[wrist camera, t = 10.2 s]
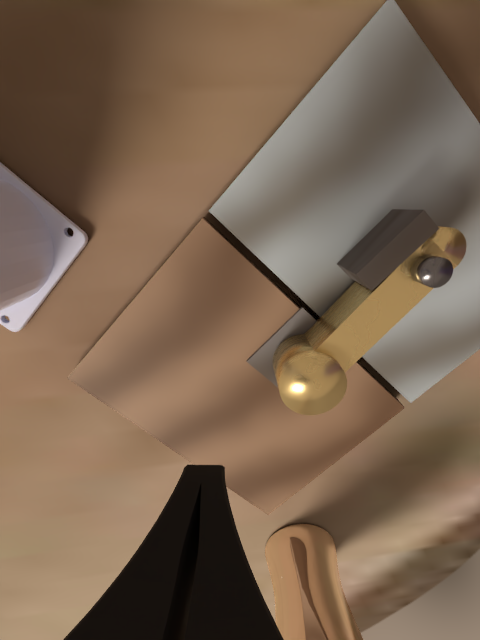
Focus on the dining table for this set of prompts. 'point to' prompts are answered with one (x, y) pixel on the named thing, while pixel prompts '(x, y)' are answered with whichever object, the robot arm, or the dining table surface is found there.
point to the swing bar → (359, 325)
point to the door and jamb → (308, 273)
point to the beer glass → (308, 586)
